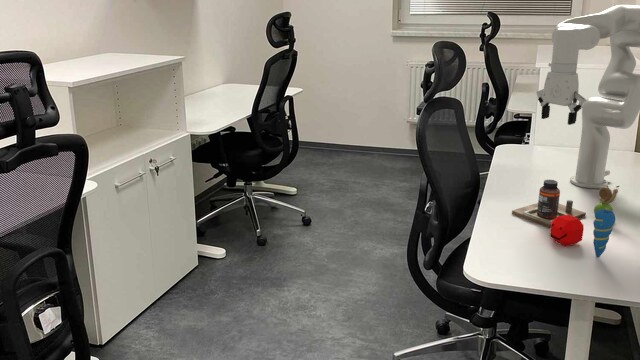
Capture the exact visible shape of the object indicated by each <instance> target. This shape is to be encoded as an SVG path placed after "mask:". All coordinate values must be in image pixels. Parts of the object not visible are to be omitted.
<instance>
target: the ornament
mask: <svg viewBox="0 0 640 360" xmlns="http://www.w3.org/2000/svg"><path fill="white" fill-rule="evenodd" d="M594 218H595V219H594V220H593V228H594V229H593V238H594V239H593V241H592V242H593V248H594V253H595V258H597V259H599V258H600V257H601V256H602V255H603V254H604V252H605V251H606V249H607V244H608V242H609V240H610V236H611V234H612V232H613V229H614V225H615V223H616V215H615V213H614V211H613V212H612V211H610V210H609V207H608V208H607V207H606V208H605V209H602V210H598V211H596V212H595V214H594Z"/></svg>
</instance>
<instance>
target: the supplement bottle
mask: <svg viewBox="0 0 640 360" xmlns="http://www.w3.org/2000/svg"><path fill="white" fill-rule="evenodd" d="M558 184H559V183H558V181H557V180H554V179H545V180H544V181H543V186H541V187H540V188H539V194H538V202H537V203H538V208H537V215H538V216H539V217H542V218H545V219H553V218H556V217H557V213H558V205H559V204H560V195H561V190H560V188H559V187H558Z"/></svg>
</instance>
